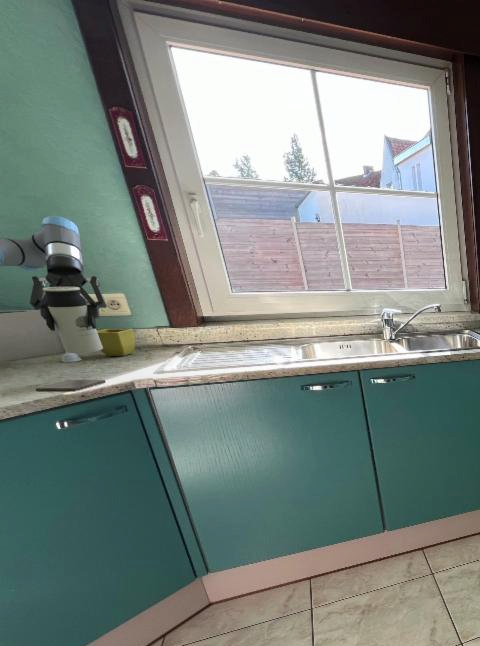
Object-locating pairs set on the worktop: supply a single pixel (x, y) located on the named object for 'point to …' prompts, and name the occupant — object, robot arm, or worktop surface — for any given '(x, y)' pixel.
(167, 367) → the worktop surface
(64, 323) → the travel mug
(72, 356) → the chalice
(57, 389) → the coaster
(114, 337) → the flower pot
